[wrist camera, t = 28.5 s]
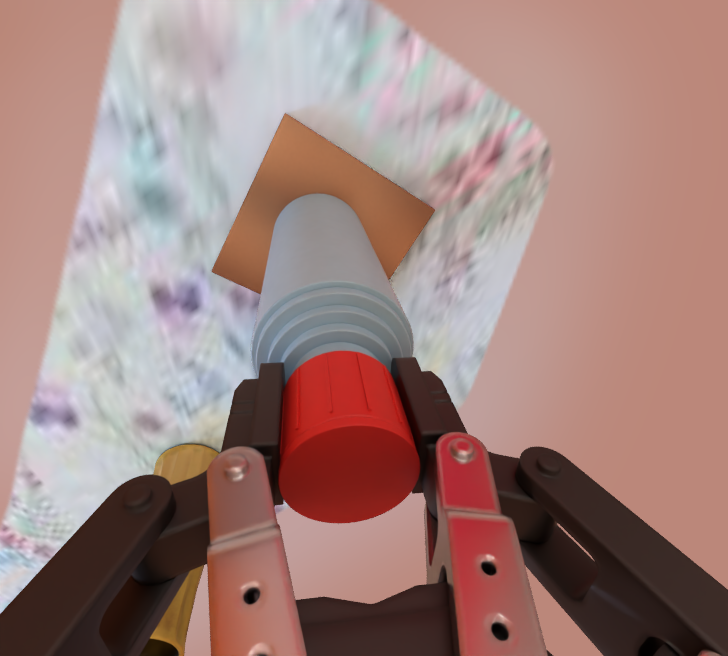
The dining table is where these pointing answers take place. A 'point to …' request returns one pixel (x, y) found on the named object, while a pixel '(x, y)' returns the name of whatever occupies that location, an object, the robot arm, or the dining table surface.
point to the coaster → (311, 176)
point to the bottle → (325, 290)
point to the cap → (345, 440)
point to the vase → (170, 634)
